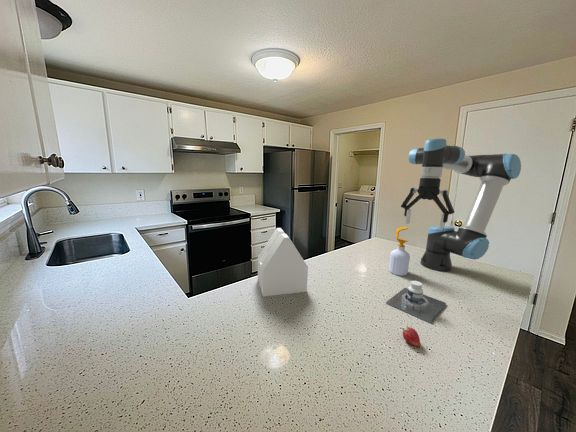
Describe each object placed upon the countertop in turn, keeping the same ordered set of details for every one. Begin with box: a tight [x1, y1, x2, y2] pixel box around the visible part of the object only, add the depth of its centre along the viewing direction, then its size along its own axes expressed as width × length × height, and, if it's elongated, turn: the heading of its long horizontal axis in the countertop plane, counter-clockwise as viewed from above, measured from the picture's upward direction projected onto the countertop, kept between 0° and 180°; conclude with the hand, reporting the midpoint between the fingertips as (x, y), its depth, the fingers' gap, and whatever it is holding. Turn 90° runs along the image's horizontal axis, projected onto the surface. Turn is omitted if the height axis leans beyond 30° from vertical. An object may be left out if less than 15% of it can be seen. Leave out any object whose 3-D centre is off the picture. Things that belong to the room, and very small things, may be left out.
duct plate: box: [385, 287, 447, 324], centre depth 94 cm, size 18×16×3 cm
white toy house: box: [257, 227, 309, 297], centre depth 104 cm, size 19×15×25 cm
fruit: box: [402, 325, 422, 348], centre depth 73 cm, size 4×6×5 cm
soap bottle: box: [388, 226, 411, 277], centre depth 121 cm, size 9×9×25 cm
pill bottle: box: [407, 280, 424, 304], centre depth 92 cm, size 5×5×9 cm
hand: (423, 226), depth 103 cm, fingers open, 13 cm apart
